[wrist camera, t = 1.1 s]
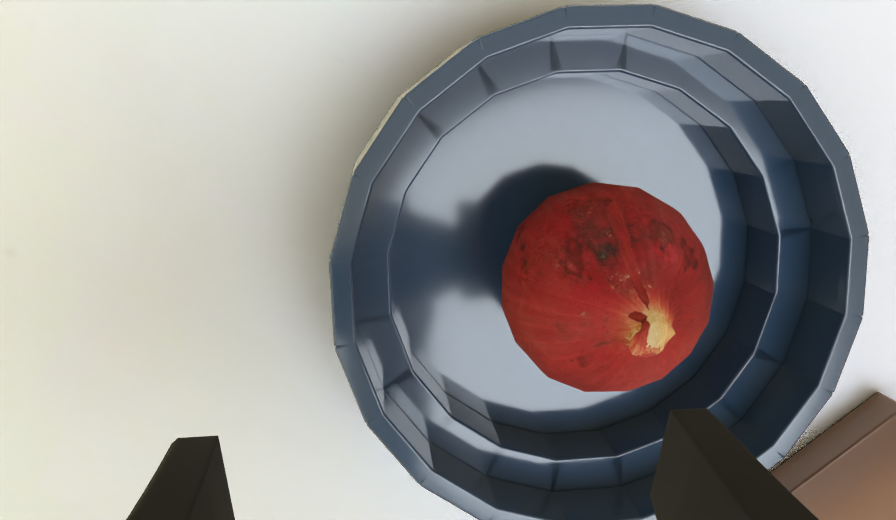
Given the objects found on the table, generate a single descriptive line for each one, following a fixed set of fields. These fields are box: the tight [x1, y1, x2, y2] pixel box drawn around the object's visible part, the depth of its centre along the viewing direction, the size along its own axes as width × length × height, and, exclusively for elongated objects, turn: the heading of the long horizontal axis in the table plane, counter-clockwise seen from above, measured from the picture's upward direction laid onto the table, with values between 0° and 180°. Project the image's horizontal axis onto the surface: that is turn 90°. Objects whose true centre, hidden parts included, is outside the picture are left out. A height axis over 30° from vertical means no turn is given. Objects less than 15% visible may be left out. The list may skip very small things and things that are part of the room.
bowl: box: [329, 4, 869, 520], centre depth 24 cm, size 15×15×4 cm
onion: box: [501, 182, 714, 392], centre depth 22 cm, size 6×6×8 cm
